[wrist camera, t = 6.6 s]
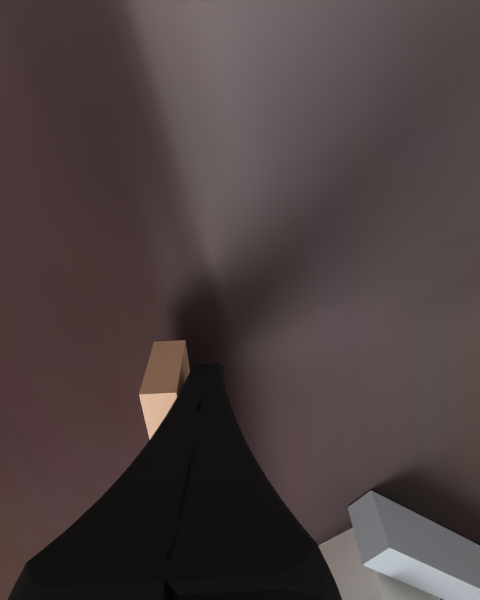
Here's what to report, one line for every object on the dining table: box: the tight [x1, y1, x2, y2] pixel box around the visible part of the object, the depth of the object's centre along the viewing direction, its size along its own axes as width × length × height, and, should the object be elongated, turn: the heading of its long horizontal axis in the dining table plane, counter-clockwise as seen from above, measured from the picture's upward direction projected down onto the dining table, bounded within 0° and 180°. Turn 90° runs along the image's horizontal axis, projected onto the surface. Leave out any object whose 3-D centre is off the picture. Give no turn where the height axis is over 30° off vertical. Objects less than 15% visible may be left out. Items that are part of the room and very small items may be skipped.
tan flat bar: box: [139, 340, 190, 439], centre depth 16 cm, size 17×1×4 cm, turn 3°
